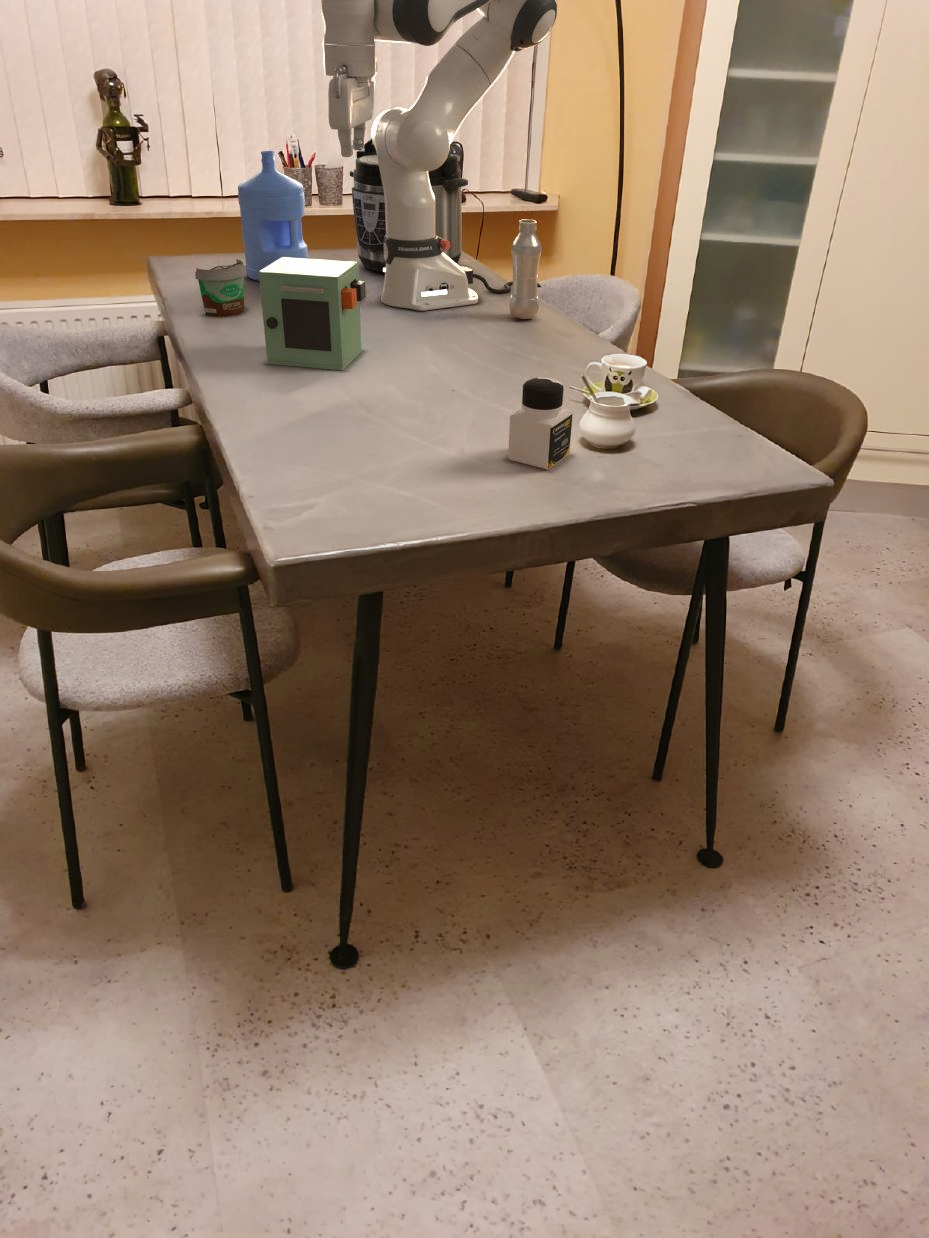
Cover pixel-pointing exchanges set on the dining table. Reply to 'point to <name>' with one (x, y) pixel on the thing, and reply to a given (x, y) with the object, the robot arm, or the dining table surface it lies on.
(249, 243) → the water jug
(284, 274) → the green box
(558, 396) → the medicine bottle
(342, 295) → the button
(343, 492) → the dining table surface
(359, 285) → the timer button
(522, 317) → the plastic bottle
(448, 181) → the pressure cooker
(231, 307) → the food container
